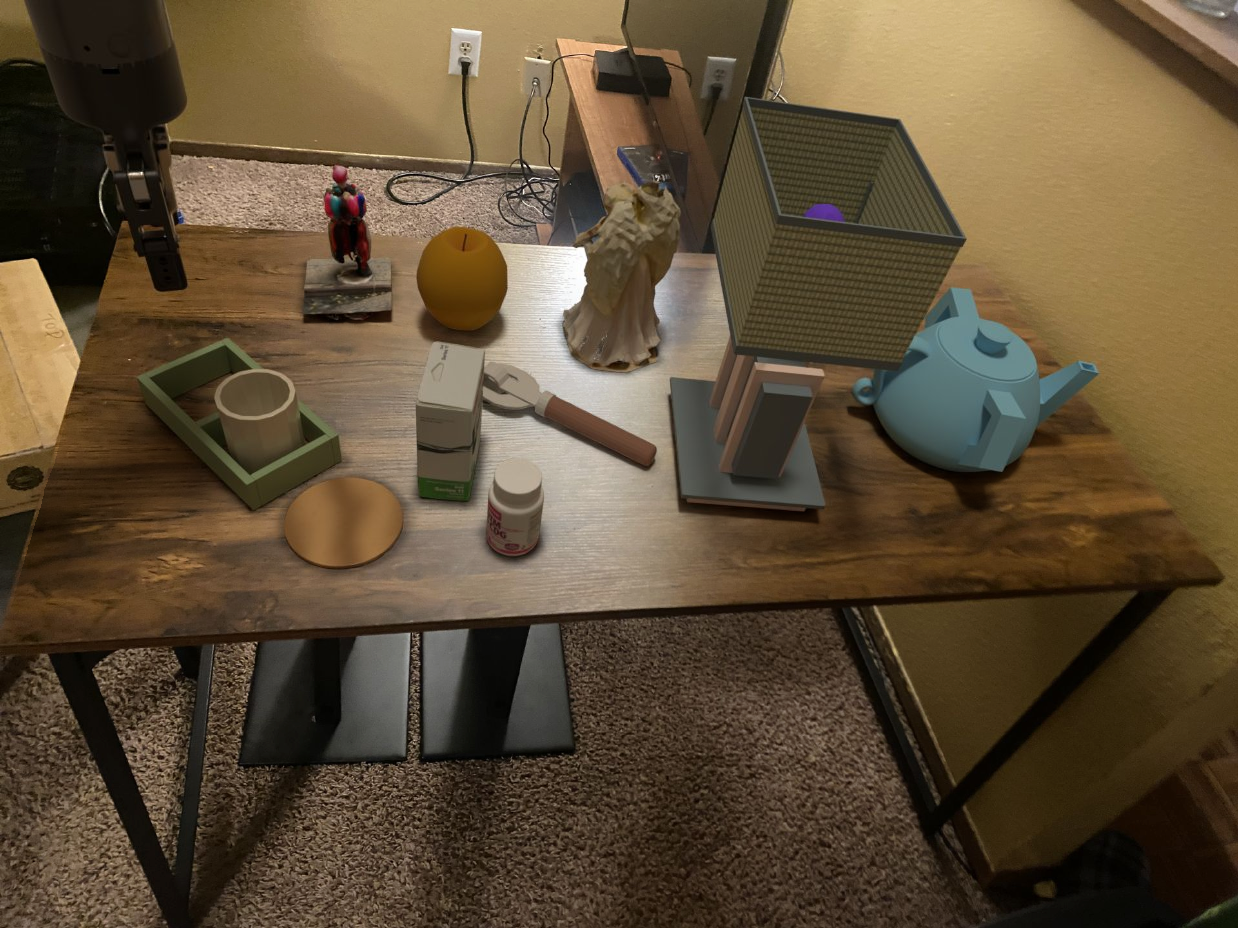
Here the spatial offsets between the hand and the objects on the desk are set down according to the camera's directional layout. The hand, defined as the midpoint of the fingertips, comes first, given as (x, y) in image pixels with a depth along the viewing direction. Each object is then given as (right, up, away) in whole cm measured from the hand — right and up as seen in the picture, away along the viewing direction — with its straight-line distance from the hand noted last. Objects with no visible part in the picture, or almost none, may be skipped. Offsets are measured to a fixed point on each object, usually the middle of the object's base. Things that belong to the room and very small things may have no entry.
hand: (168, 255), depth 64 cm
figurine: (+33, -2, +33) cm, 47 cm away
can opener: (+29, -11, +23) cm, 38 cm away
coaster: (+10, -21, +10) cm, 26 cm away
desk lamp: (+47, -15, +24) cm, 54 cm away
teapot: (+72, -12, +32) cm, 79 cm away
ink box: (+18, -16, +17) cm, 30 cm away
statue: (+4, +3, +32) cm, 32 cm away
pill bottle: (+25, -23, +12) cm, 36 cm away
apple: (+16, 0, +31) cm, 35 cm away
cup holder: (-1, -13, +15) cm, 20 cm away
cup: (+2, -15, +14) cm, 21 cm away
